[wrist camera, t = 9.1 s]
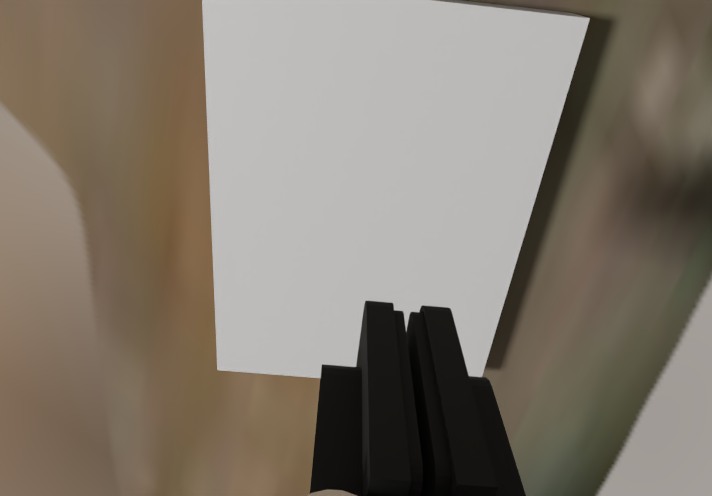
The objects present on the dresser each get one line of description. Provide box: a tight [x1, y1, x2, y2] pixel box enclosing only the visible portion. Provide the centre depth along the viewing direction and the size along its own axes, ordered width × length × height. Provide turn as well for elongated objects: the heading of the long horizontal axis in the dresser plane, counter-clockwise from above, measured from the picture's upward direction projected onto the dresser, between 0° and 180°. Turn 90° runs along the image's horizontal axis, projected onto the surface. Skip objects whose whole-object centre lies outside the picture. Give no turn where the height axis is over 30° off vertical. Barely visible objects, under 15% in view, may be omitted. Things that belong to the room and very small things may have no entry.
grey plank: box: [202, 0, 590, 378], centre depth 21 cm, size 16×12×2 cm
